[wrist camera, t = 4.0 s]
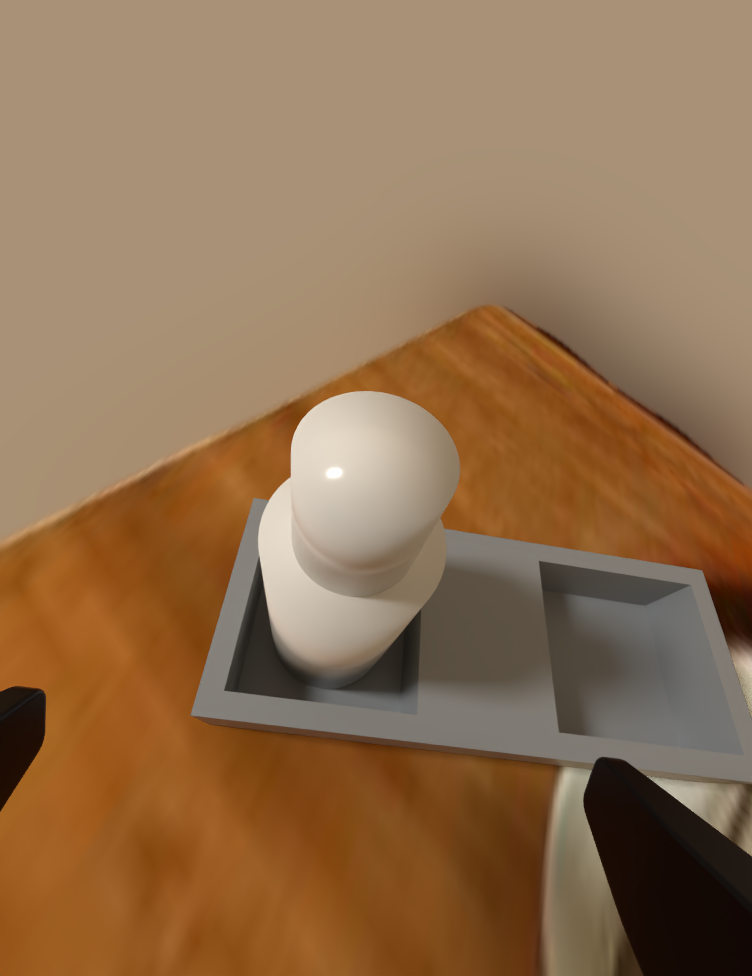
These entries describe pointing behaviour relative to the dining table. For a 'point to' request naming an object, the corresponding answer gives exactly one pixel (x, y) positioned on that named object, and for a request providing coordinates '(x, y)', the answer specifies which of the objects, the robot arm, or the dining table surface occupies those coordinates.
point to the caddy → (510, 665)
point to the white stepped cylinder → (355, 533)
